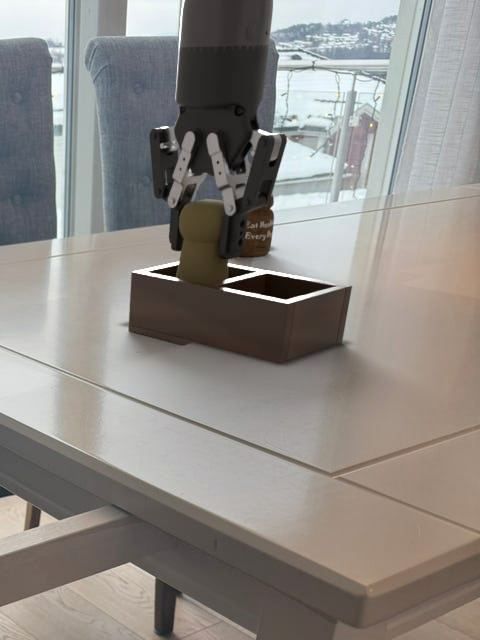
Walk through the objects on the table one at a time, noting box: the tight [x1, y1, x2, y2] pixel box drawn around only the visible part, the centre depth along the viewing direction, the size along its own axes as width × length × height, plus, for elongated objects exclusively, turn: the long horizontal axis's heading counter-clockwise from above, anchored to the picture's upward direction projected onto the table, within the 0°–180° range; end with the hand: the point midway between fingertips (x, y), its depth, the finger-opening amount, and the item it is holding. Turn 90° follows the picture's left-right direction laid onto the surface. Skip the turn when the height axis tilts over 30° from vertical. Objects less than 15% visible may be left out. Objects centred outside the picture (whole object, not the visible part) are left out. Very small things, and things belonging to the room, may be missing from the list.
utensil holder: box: [238, 162, 275, 258], centre depth 121 cm, size 6×6×12 cm
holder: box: [127, 261, 353, 364], centre depth 88 cm, size 10×18×6 cm, turn 40°
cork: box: [176, 198, 229, 284], centre depth 89 cm, size 6×6×11 cm
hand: (204, 253), depth 88 cm, fingers closed on cork, 5 cm apart
